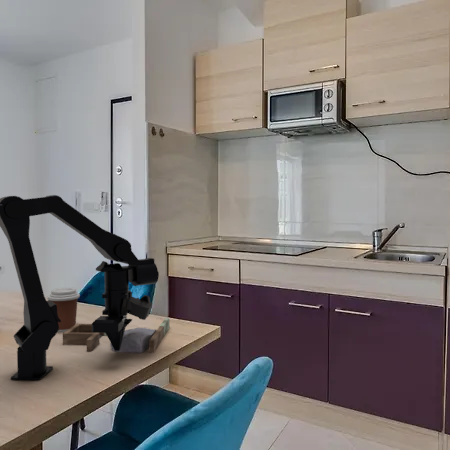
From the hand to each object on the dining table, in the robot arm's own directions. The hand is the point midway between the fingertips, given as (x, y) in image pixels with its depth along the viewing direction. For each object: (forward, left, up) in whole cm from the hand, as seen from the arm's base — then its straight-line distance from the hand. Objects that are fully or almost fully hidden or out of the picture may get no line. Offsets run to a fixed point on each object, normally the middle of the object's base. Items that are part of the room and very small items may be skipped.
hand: (117, 350), depth 102 cm
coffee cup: (+21, +23, -2) cm, 31 cm away
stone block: (+8, -2, -2) cm, 8 cm away
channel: (+13, +4, -1) cm, 14 cm away
